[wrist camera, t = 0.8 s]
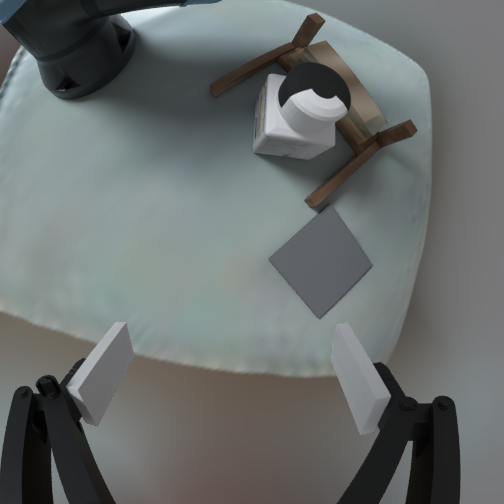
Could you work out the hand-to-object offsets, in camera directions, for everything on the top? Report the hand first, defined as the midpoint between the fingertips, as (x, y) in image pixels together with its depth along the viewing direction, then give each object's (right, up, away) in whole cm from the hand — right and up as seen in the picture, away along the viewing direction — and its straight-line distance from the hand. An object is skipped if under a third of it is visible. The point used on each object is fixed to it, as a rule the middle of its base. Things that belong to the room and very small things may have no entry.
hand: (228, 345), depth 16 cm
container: (+5, +22, +17) cm, 28 cm away
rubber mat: (+11, +4, +20) cm, 23 cm away
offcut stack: (+13, +28, +16) cm, 35 cm away
